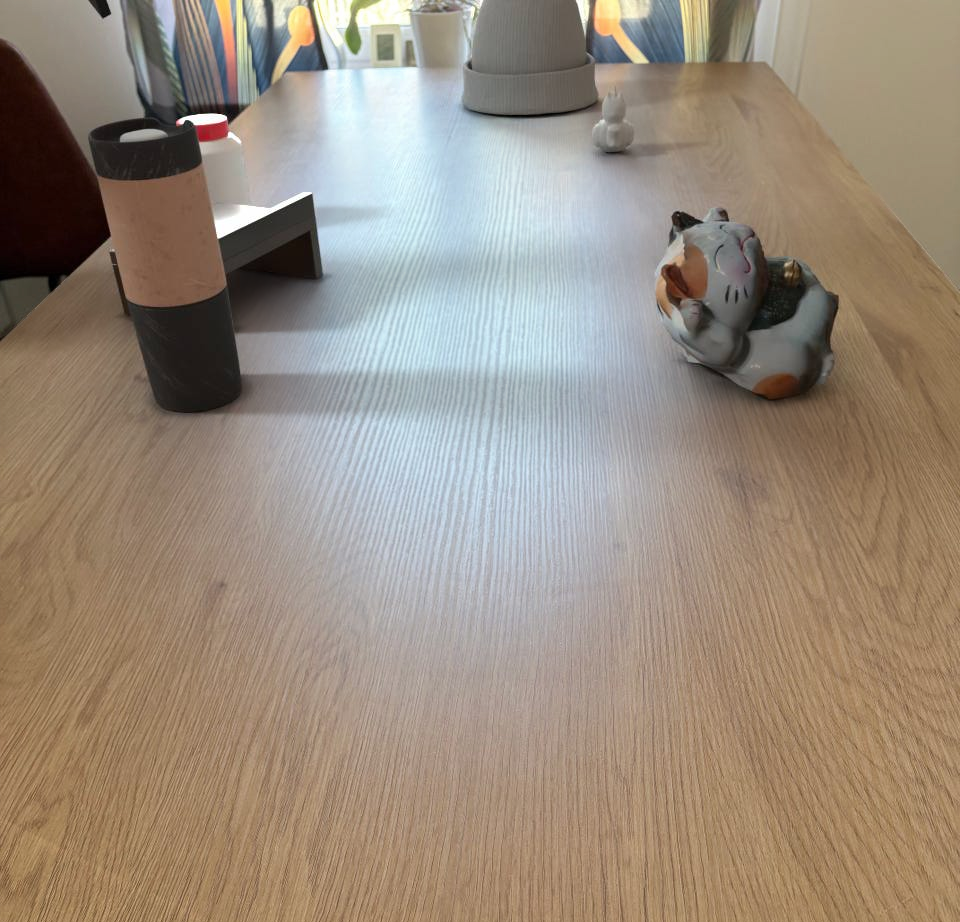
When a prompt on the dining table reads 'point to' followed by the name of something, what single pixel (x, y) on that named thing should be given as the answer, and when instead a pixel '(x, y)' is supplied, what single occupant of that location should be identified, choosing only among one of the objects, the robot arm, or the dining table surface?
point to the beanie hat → (529, 59)
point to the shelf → (262, 239)
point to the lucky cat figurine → (744, 307)
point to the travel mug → (169, 260)
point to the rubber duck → (613, 125)
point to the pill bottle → (221, 159)
